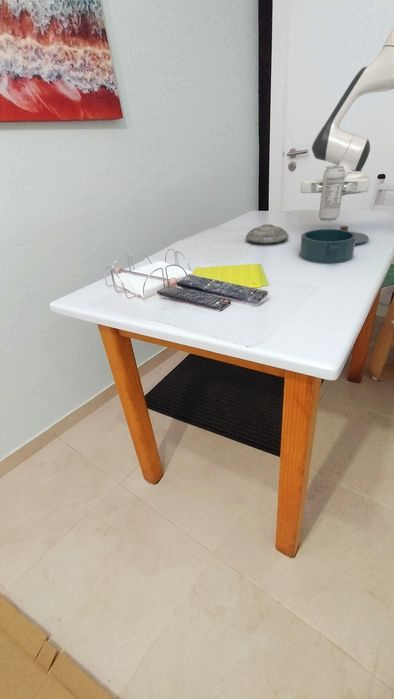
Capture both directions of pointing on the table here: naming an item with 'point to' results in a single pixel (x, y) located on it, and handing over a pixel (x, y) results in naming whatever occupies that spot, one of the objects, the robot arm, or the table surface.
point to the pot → (327, 245)
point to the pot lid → (357, 235)
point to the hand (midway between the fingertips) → (332, 189)
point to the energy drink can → (331, 192)
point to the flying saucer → (267, 234)
